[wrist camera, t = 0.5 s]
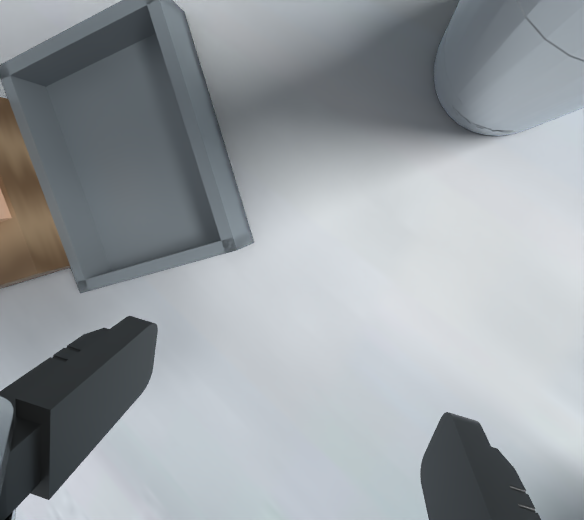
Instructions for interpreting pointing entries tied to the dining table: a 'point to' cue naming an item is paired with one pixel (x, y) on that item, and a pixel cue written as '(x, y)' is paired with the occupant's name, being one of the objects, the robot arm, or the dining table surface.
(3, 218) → the tile
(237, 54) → the dining table surface
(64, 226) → the tray
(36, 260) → the bench
